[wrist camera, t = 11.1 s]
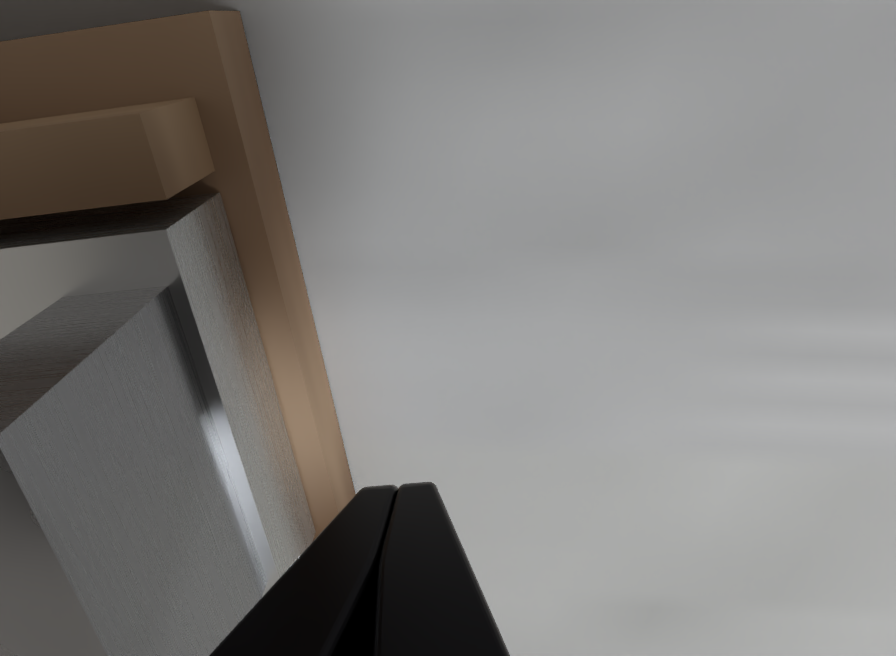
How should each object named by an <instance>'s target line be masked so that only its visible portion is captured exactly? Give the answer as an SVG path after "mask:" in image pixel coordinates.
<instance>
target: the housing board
mask: <svg viewBox="0 0 896 656" xmlns="http://www.w3.org/2000/svg"><path fill="white" fill-rule="evenodd" d="M218 192H220V195H221V198H222V202H223V205H224V209H225V212H226V216H227V220H228V223H229V227H230V230H231V234H232V237H233V241H234V244H235V248H236V251H237V255H238V259H239V262H240V266H241V269H242V273H243V276H244V280H245V283H246V287H247V290H248V294H249V298H250V301H251V305H252V308H253V312H254V315H255V319H256V322H257V326H258V329H259V333H260V337H261V340H262V344H263V347H264V351H265V354H266V358H267V361H268V365H269V368H270V372H271V376H272V379H273V383H274V386H275V390H276V393H277V397H278V400H279V404H280V407H281V411H282V415H283V418H284V422H285V425H286V429H287V432H288V436H289V439H290V443H291V446H292V450H293V454H294V457H295V461H296V464H297V468H298V471H299V475H300V478H301V482H302V485H303V489H304V493H305V496H306V500H307V503H308V507H309V510H310V514H311V517H312V521H313V524H314V528H315V535H314V539H313V541H314V540H315V539H316V538H317V536H318V535H319V534H320V533H321V532H322V531H323V530H324V529H325V528H326V527H327V526H328V524H329V523H330V522H331V521H332V520H333V519H334V518H335V517H336V516H337V515H338V513H339V512H340V511H341V510H342V509H343V508H344V507H345V506H346V505H347V504H348V502H349V501H350V500H351V499H352V498H353V497H354V496H355V495H356V494H355V490H354V486H353V482H352V478H351V474H350V469H349V465H348V461H347V457H346V453H345V449H344V444H343V440H342V436H341V432H340V428H339V424H338V419H337V415H336V411H335V407H334V403H333V399H332V394H331V390H330V386H329V382H328V378H327V374H326V369H325V365H324V361H323V357H322V353H321V348H320V344H319V340H318V336H317V332H316V328H315V323H314V319H313V315H312V311H311V307H310V303H309V298H308V294H307V290H306V286H305V282H304V278H303V273H302V269H301V265H300V261H299V257H298V253H297V248H296V244H295V240H294V236H293V232H292V228H291V223H290V219H289V215H288V211H287V207H286V203H285V198H284V194H283V190H282V186H281V182H280V178H279V173H278V169H277V165H276V161H275V157H274V153H273V148H272V144H271V140H270V136H269V132H268V128H267V123H266V119H265V115H264V111H263V107H262V103H261V98H260V94H259V90H258V86H257V82H256V78H255V73H254V69H253V65H252V61H251V57H250V52H249V48H248V44H247V40H246V36H245V32H244V27H243V23H242V19H241V15H240V11H210V10H209V11H202V12H195V13H188V14H182V15H175V16H168V17H162V18H155V19H148V20H142V21H135V22H128V23H121V24H115V25H108V26H101V27H95V28H88V29H81V30H74V31H68V32H61V33H54V34H48V35H41V36H34V37H27V38H21V39H14V40H7V41H1V42H0V220H3V219H11V218H19V217H27V216H35V215H44V214H52V213H60V212H68V211H76V210H85V209H93V208H101V207H109V206H117V205H126V204H134V203H142V202H150V201H158V200H167V199H169V198H177V197H186V196H194V195H202V194H210V193H218Z"/></svg>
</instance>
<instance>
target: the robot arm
mask: <svg viewBox="0 0 896 656" xmlns="http://www.w3.org/2000/svg"><path fill="white" fill-rule="evenodd" d="M209 656H510V655H509V652H508V650H507V648H506V645H505V643H504V641H503V638H502V636H501V634H500V632H499V629H498V627H497V625H496V622H495V620H494V618H493V616H492V613H491V611H490V609H489V606H488V604H487V602H486V600H485V597H484V595H483V593H482V590H481V588H480V586H479V583H478V581H477V579H476V577H475V574H474V572H473V570H472V567H471V565H470V563H469V561H468V558H467V556H466V554H465V551H464V549H463V547H462V545H461V542H460V540H459V538H458V535H457V533H456V531H455V529H454V526H453V524H452V522H451V519H450V517H449V515H448V512H447V510H446V508H445V506H444V503H443V501H442V499H441V496H440V494H439V492H438V490H437V487H436V485H435V484H434V483H432V482H422V483H409V484H403V485H401V486H400V487H399V489H398V488H397V487H396V486H395V485H383V486H370V487H364V488H362V489H361V490H360V491H359V492H358V493H357V494H356V495H355V496H354V497H353V498H352V499H351V500H350V501H349V502H348V504H347V505H346V506H345V507H344V508H343V509H342V510H341V511H340V512H339V513H338V515H337V516H336V517H335V518H334V519H333V520H332V521H331V522H330V523H329V524H328V526H327V527H326V528H325V529H324V530H323V531H322V532H321V533H320V534H319V535H318V536H317V538H316V539H315V540H314V541H313V542H312V543H311V544H310V545H309V546H308V547H307V549H306V550H305V551H304V552H303V553H302V554H301V555H300V556H299V557H298V558H297V559H296V561H295V562H294V563H293V564H292V565H291V566H290V567H289V568H288V569H287V570H286V572H285V573H284V574H283V575H282V576H281V577H280V578H279V579H278V580H277V581H276V583H275V584H274V585H273V586H272V587H271V588H270V589H269V590H268V591H267V592H266V593H265V595H264V596H263V597H262V598H261V599H260V600H259V601H258V602H257V603H256V604H255V606H254V607H253V608H252V609H251V610H250V611H249V612H248V613H247V614H246V615H245V616H244V618H243V619H242V620H241V621H240V622H239V623H238V624H237V625H236V626H235V627H234V629H233V630H232V631H231V632H230V633H229V634H228V635H227V636H226V637H225V638H224V640H223V641H222V642H221V643H220V644H219V645H218V646H217V647H216V648H215V649H214V650H213V652H212V653H211V654H210V655H209Z"/></svg>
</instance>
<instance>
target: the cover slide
mask: <svg viewBox="0 0 896 656" xmlns="http://www.w3.org/2000/svg"><path fill="white" fill-rule="evenodd" d="M314 535H315V528H314V524H313V521H312V517H311V514H310V510H309V507H308V503H307V500H306V496H305V493H304V489H303V485H302V482H301V478H300V475H299V471H298V468H297V464H296V461H295V457H294V454H293V450H292V446H291V443H290V439H289V436H288V432H287V429H286V425H285V422H284V418H283V415H282V411H281V407H280V404H279V400H278V397H277V393H276V390H275V386H274V383H273V379H272V376H271V372H270V368H269V365H268V361H267V358H266V354H265V351H264V347H263V344H262V340H261V337H260V333H259V329H258V326H257V322H256V319H255V315H254V312H253V308H252V305H251V301H250V298H249V294H248V290H247V287H246V283H245V280H244V276H243V273H242V269H241V266H240V262H239V259H238V255H237V251H236V248H235V244H234V241H233V237H232V234H231V230H230V227H229V223H228V220H227V216H226V212H225V209H224V205H223V202H222V198H221V195H220V192H218V193H210V194H202V195H194V196H186V197H177V198H169V199H167V200H158V201H150V202H142V203H134V204H126V205H117V206H109V207H101V208H93V209H85V210H76V211H68V212H60V213H52V214H44V215H35V216H27V217H19V218H11V219H3V220H0V656H209V655H210V654H211V653H212V652H213V650H214V649H215V648H216V647H217V646H218V645H219V644H220V643H221V642H222V641H223V640H224V638H225V637H226V636H227V635H228V634H229V633H230V632H231V631H232V630H233V629H234V627H235V626H236V625H237V624H238V623H239V622H240V621H241V620H242V619H243V618H244V616H245V615H246V614H247V613H248V612H249V611H250V610H251V609H252V608H253V607H254V606H255V604H256V603H257V602H258V601H259V600H260V599H261V598H262V597H263V596H264V595H265V593H266V592H267V591H268V590H269V589H270V588H271V587H272V586H273V585H274V584H275V583H276V581H277V580H278V579H279V578H280V577H281V576H282V575H283V574H284V573H285V572H286V570H287V569H288V568H289V567H290V566H291V565H292V564H293V563H294V562H295V561H296V559H297V558H298V557H299V556H300V555H301V554H302V553H303V552H304V551H305V550H306V549H307V547H308V546H309V545H310V544H311V543H312V542H313V539H314Z"/></svg>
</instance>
